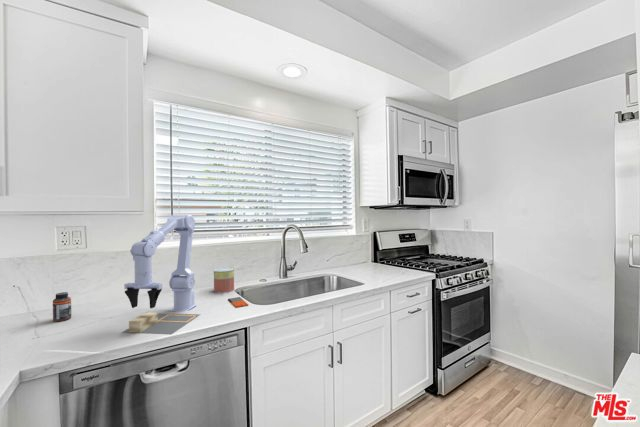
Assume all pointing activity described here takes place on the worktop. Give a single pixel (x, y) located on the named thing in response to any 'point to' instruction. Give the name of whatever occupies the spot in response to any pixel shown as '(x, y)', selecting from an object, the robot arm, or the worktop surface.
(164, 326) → the rubber mat
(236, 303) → the phone
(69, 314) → the supplement bottle
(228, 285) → the canned food
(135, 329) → the cream block
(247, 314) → the worktop surface
